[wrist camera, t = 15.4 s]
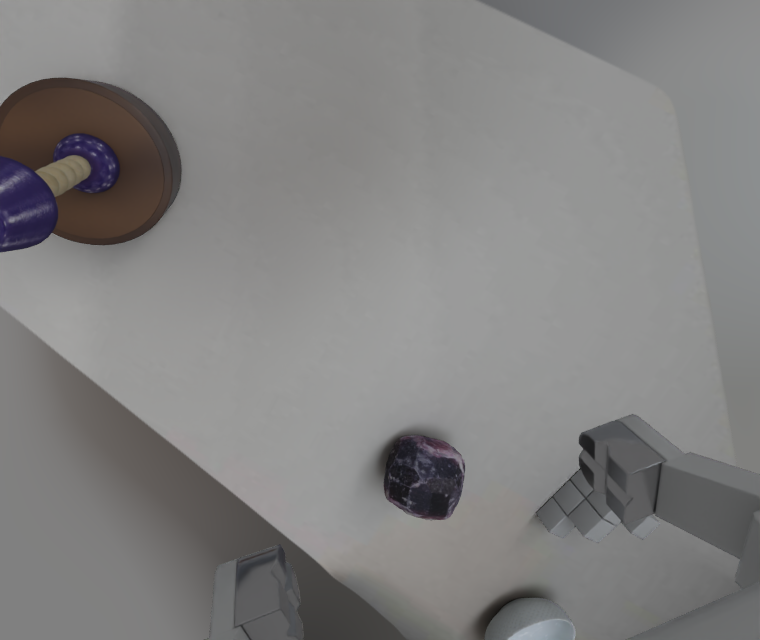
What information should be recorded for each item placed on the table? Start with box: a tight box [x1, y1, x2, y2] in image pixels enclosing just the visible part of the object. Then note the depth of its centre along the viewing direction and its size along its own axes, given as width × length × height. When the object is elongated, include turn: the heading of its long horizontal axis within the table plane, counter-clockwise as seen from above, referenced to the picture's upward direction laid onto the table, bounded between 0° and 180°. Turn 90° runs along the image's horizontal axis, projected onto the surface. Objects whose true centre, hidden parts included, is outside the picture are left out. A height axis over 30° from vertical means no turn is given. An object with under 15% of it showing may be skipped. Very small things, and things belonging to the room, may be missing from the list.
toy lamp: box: [0, 133, 120, 252], centre depth 26 cm, size 5×5×17 cm
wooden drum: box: [0, 78, 181, 245], centre depth 36 cm, size 12×12×5 cm
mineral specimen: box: [384, 435, 465, 520], centre depth 58 cm, size 10×10×10 cm
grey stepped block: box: [536, 469, 660, 543], centre depth 72 cm, size 12×12×8 cm
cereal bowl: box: [484, 598, 576, 640], centre depth 83 cm, size 17×17×7 cm
